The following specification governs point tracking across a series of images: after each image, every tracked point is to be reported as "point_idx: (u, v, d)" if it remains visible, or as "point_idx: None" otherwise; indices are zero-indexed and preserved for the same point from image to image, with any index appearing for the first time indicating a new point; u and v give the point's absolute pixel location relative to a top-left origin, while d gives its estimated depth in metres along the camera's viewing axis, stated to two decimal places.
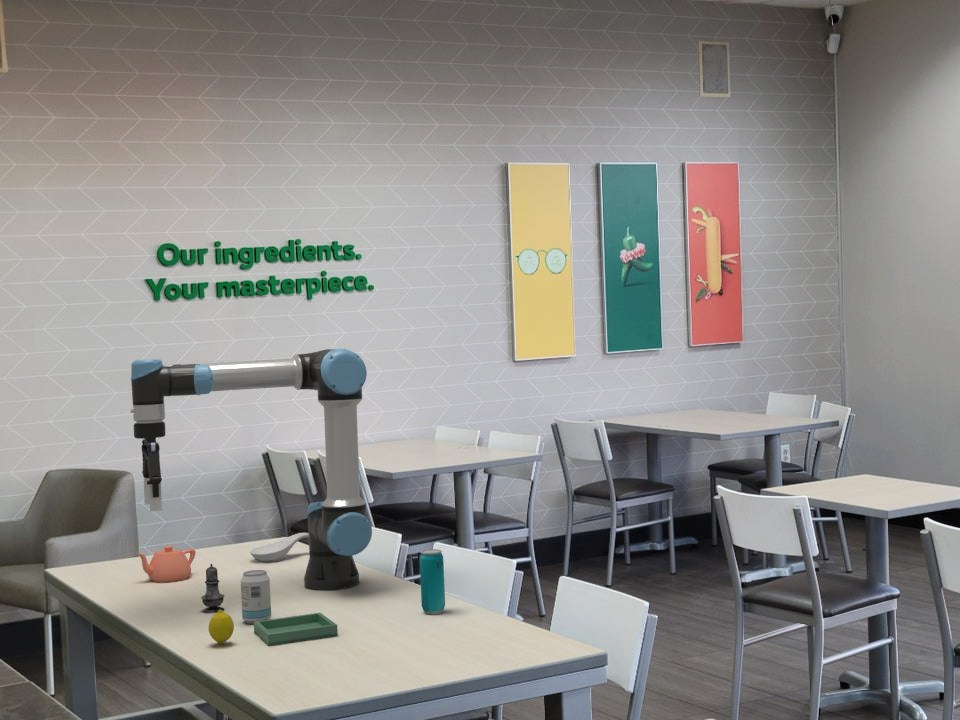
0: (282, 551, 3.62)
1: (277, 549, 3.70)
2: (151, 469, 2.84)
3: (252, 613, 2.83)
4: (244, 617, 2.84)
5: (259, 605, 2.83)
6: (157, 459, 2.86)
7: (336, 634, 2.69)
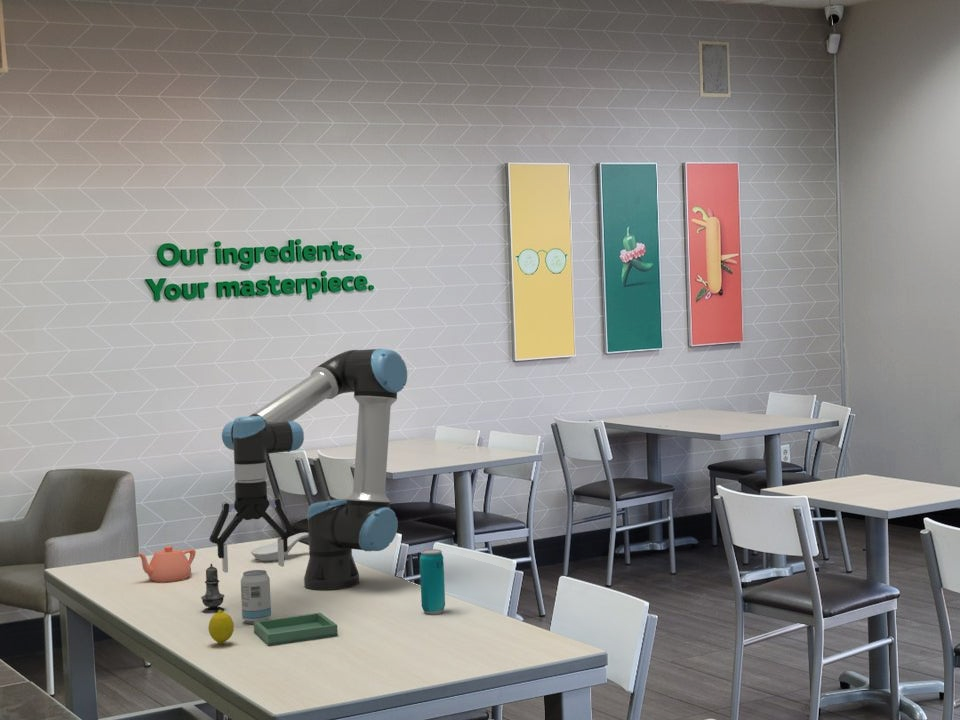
0: None
1: None
2: (214, 528, 2.83)
3: (252, 613, 2.83)
4: (244, 617, 2.84)
5: (259, 605, 2.83)
6: (219, 520, 2.82)
7: (336, 634, 2.69)
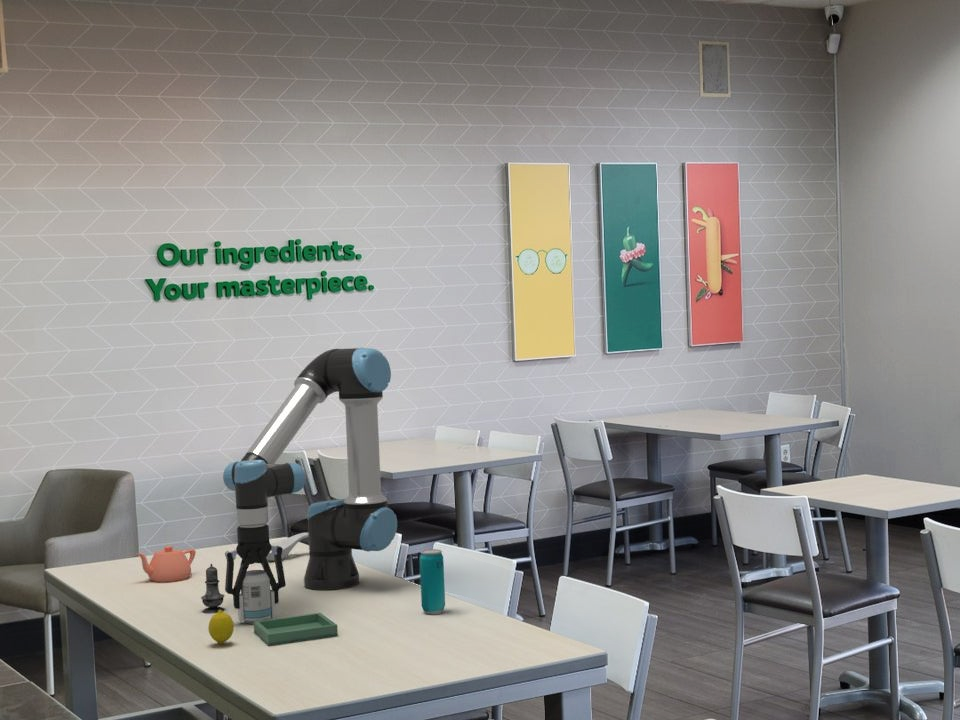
0: (283, 551, 3.62)
1: None
2: (226, 579, 2.84)
3: (252, 613, 2.83)
4: (244, 617, 2.84)
5: (259, 605, 2.83)
6: (228, 570, 2.83)
7: (336, 634, 2.69)
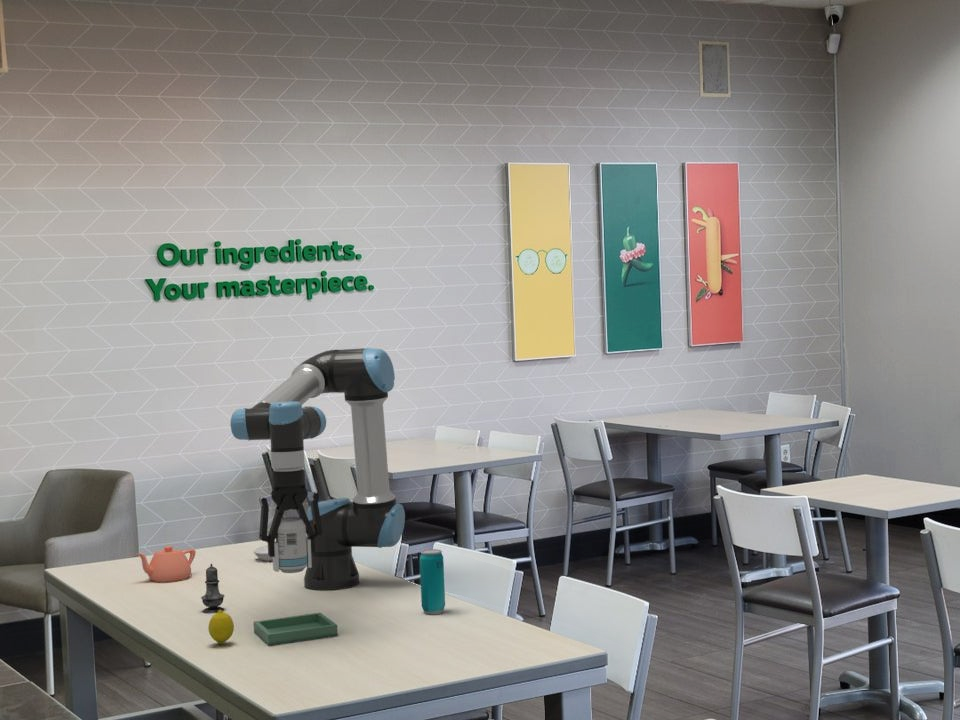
0: None
1: None
2: (260, 526, 2.70)
3: (288, 562, 2.69)
4: (279, 566, 2.70)
5: (295, 553, 2.69)
6: (262, 516, 2.69)
7: (336, 634, 2.69)
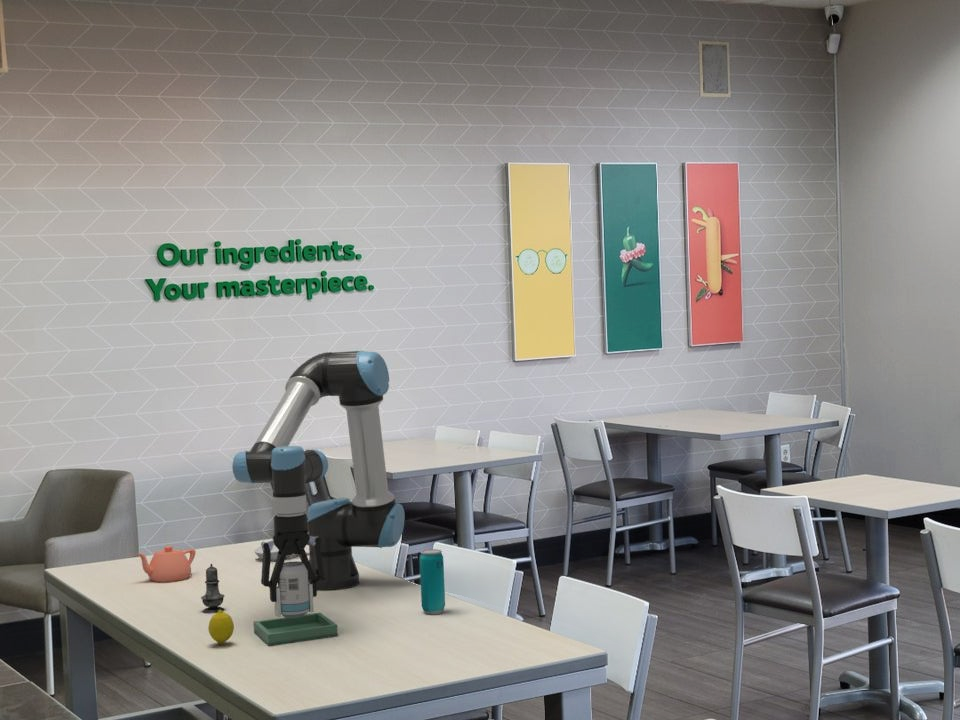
0: None
1: None
2: (262, 571, 2.70)
3: (290, 607, 2.69)
4: (281, 611, 2.70)
5: (297, 599, 2.69)
6: (264, 561, 2.69)
7: (336, 634, 2.69)
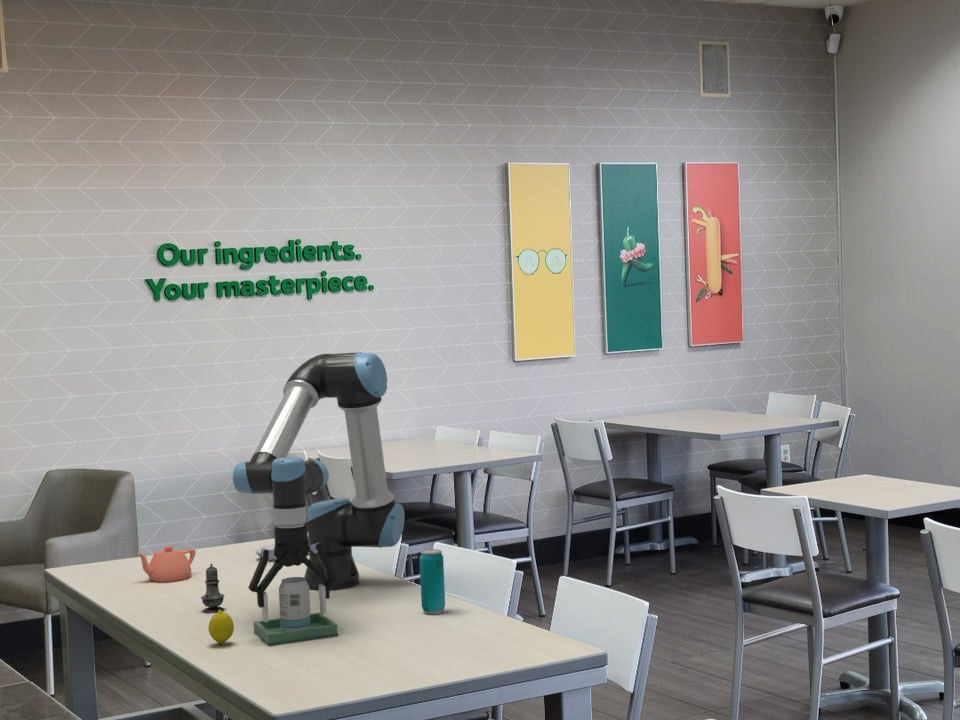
0: None
1: None
2: (253, 576, 2.70)
3: (292, 623, 2.69)
4: (283, 626, 2.70)
5: (298, 614, 2.70)
6: (259, 567, 2.69)
7: (336, 634, 2.69)
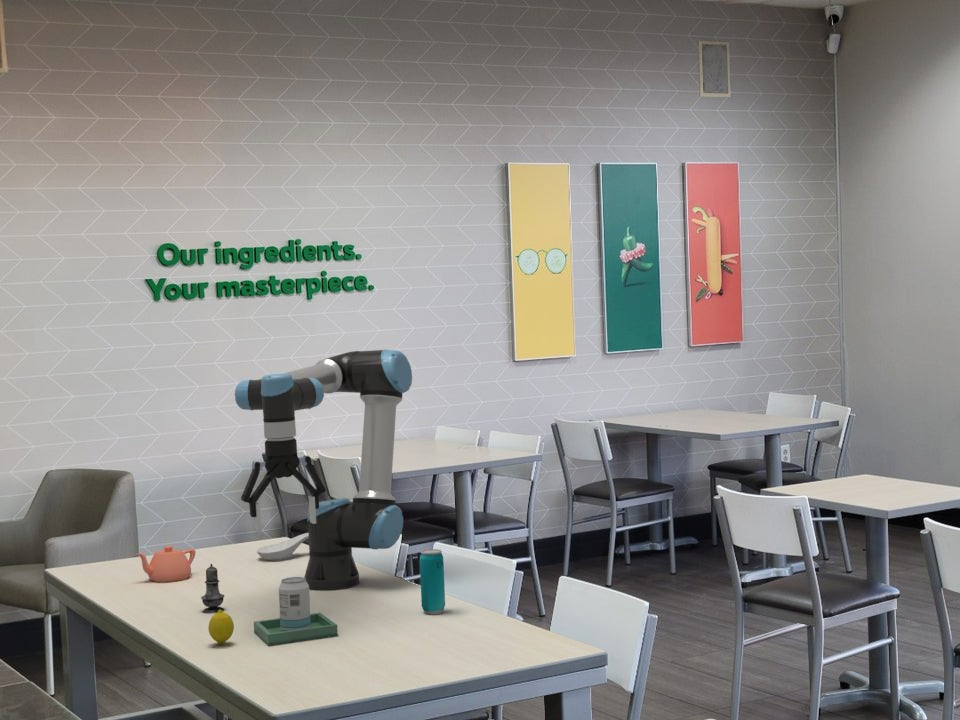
0: (286, 550, 3.63)
1: (285, 548, 3.71)
2: (245, 488, 2.81)
3: (292, 623, 2.69)
4: (283, 627, 2.70)
5: (298, 614, 2.70)
6: (251, 479, 2.80)
7: (336, 634, 2.69)
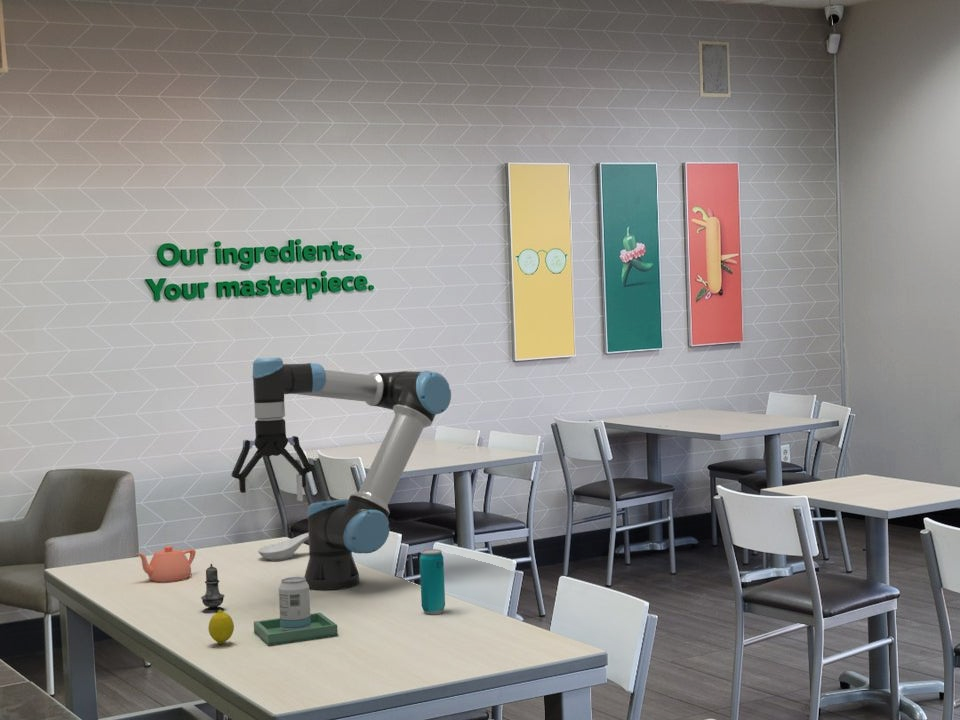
0: (287, 550, 3.63)
1: (287, 548, 3.71)
2: None
3: (292, 623, 2.69)
4: (283, 627, 2.70)
5: (298, 614, 2.70)
6: (241, 456, 2.95)
7: (336, 634, 2.69)
